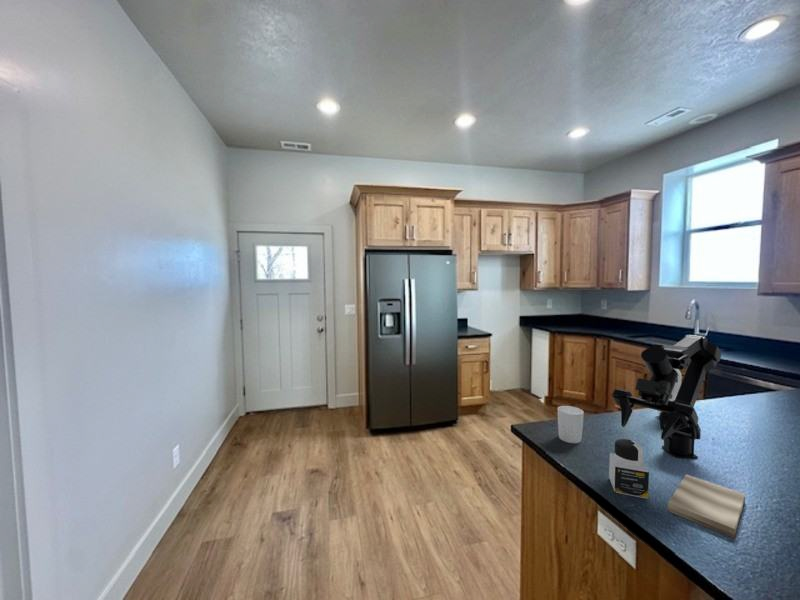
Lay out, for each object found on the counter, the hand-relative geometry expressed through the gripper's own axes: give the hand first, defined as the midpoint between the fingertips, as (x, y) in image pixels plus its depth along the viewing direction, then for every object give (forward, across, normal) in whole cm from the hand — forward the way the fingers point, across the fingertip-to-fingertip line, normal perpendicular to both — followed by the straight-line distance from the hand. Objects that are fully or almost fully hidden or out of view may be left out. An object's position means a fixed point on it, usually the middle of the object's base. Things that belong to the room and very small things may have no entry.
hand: (641, 432), depth 90 cm
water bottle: (-31, -13, +49) cm, 60 cm away
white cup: (+4, -24, +14) cm, 28 cm away
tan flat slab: (+9, +14, +10) cm, 19 cm away
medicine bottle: (+14, 0, +4) cm, 15 cm away
